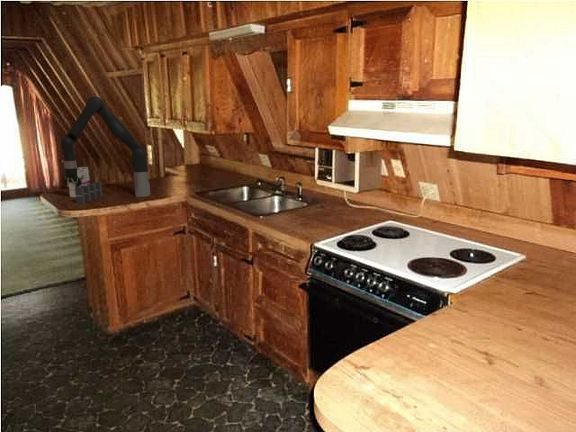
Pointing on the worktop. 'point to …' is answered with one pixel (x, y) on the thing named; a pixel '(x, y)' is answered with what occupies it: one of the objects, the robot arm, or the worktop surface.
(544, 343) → the worktop surface
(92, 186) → the domino
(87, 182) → the candy bar box
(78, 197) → the domino
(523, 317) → the worktop surface
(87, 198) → the domino
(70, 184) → the ivory domino
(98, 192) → the domino
